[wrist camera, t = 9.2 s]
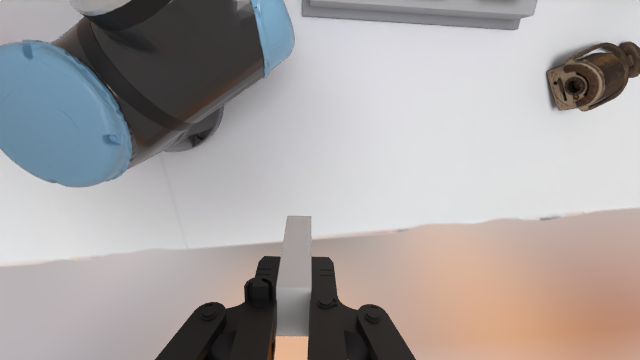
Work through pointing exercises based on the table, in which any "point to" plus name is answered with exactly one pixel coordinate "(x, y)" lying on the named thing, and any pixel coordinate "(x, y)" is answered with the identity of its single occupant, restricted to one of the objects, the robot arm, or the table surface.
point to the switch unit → (427, 11)
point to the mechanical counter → (594, 76)
